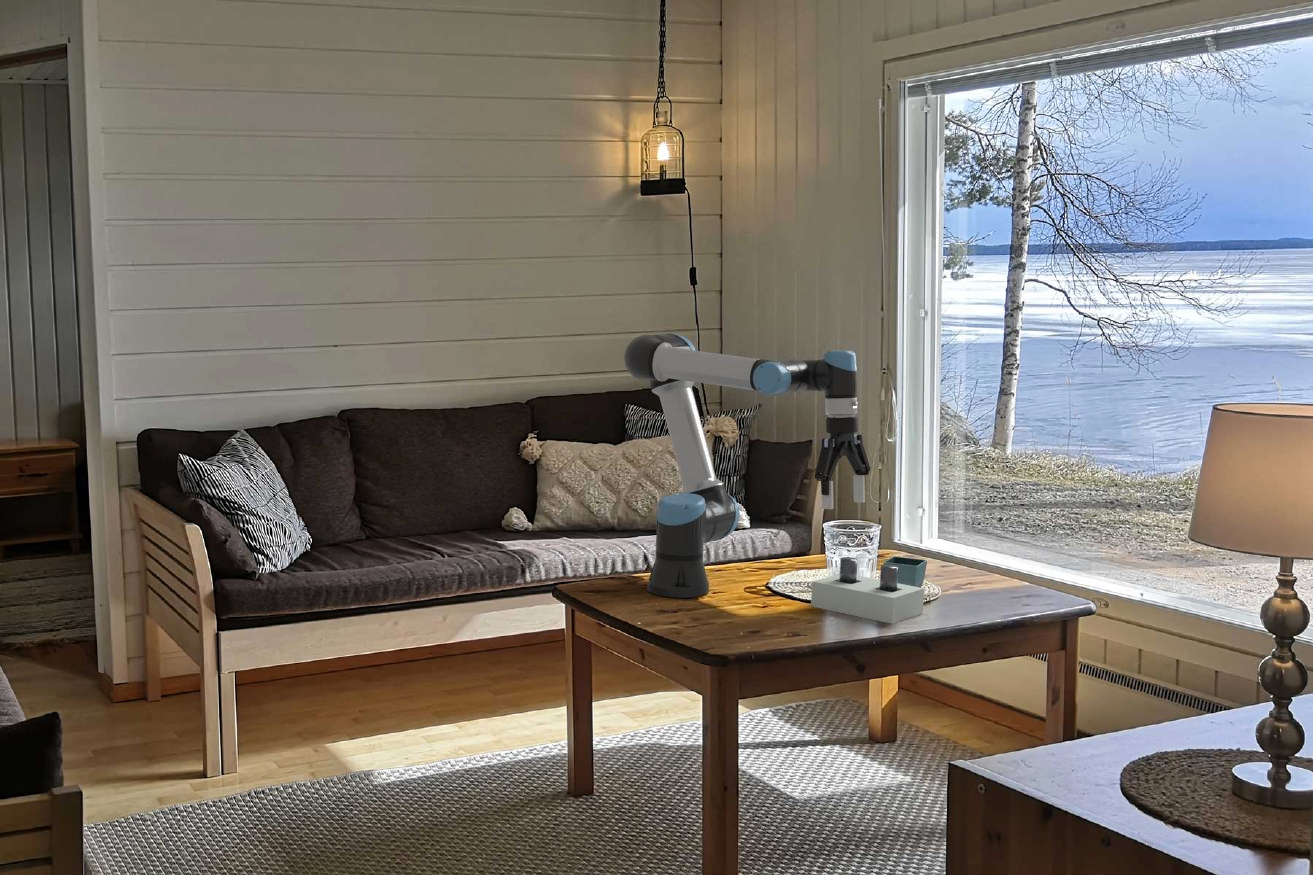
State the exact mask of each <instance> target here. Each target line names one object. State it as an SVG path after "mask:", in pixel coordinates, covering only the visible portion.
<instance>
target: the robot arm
mask: <svg viewBox="0 0 1313 875" xmlns="http://www.w3.org/2000/svg"><path fill="white" fill-rule="evenodd" d="M856 356H857V355H856V353H855V352H854V351H853V350H827V351H825V352H824V354H823V358H821V359H788V360H782V361H780V360H779V361H778V360H771V359H761V358H753V357H746V356H738V355H731V354H725V353H724V354H723V353H717V352H716V353H715V352H710V351H709V352H708V351H701V350H696V348H695V346H694V344H693V343H692V341H690V340H689V339H688V338H687V337H685V336H683V335H680V334H675V333H664V334H663V333H662V334H661V333H660V334H659V333H658V334H642V335H639V336H637V337H635V338H633V339H632V340H631V341H629V343H628V345H627V346H626V348H625V351H624V354H623V361H624V366H625V368H626V370H627V372H628V373H629V374H630V375H631V376H632V377H633V378H635V379H637V380H639V381H644V382H649V385H650V389H651V392H652V393H653V394H655V395H657V396H658V397H659V400H660V401H659V402H660V403H661V407H662V412H663V415H664V418H665V419H664V420H665V422H666V427H667V430H668V433H669V437H670V440H671V445H672V449H673V452H674V456H675V460H676V463H677V467H678V470H679V475H680V478H681V482H682V483H681V484H682V490H681V491H680V492H679V493H678V494H676V493H674V494H670V495H666V496H664V497H662V498H661V499H660V500H659V501H658V503H657V508H656V509H657V510H656V514H655V517H656V536H655V540H656V541H655V559H654V563H653V564H652V565H653V566H652V568H651V571H650V574H649V577H648V580H647V589H646V590H647V591H648V593H650V594H653V595H656V596H660V597H666V598H681V599H685V598H687V599H690V598H698V597H703V596H706V595H708V594H709V592H710V581H709V580H708V577H707V576H708V575H707V571H706V568H705V564H704V544H707V543H711V542H717V541H720V540H723V539H724V538H726V537H729V535H731V534H732V533H733V532H734V531H735V529H736V528H737V526H738V524H739V522H740V509H739V508H740V507H739V505H738V502H737V501H736V499H735V498H734V497H732V496H731V495H730V494H729V493H727V491H726V487H725V483H724V482H723V481H722V480H719V479H718V478H717V477H716V476H717V475H716V473H715V470H714V466H713V460H712V459H711V455H710V450H709V447H708V444H707V439H706V436H705V432H704V429H703V424H702V422H701V418H700V413H699V409H698V406H697V402H696V398H695V394H694V391H693V386H694V385H695V383H700V384H707V385H713V386H714V385H715V386H720V387H721V386H722V387H727V388H728V387H729V388H733V389H742V390H750V391H755V392H756V391H757V392H760V393H761V394H764V395H769V396H770V395H771V396H778V395H780V394H782V395H783V394H791V393H800V392H824V397H825V398H824V401H825V402H824V407H825V408H824V410H825V411H824V413H825V415H826V418H825V432H826V433H827V434H830V437H829V438H828V437H827V438H826V437H825V438H823V437H822V439H821V450H820V453H819V457H818V462H817V465H816V469H815V473H814V479H815V480H816V481H817V482H820V490H821V491H820V493H821V509H823V510H834V481H833V480H831V479H832V477H833V475H834V472H835V470H836V467H837V466H838V463H839V460H840V459H841V458H842V457H844V456H845V457H846V459H847V460H848V462H849V464H850V466H851V469H852V470H853V471H854V474H853V475H852V477H853V478H852V479H853V480H852V483H853V484H852V485H853V486H852V487H853V502H854V503H862V504H863V503H866V490H865V489H866V488H865V487H866V481H865V480H866V479H865V476H868V475H870V472H871V466H870V462H869V459H868V456H867V453H866V449H865V446H864V443H863V435H862V434H859V433H858V434H857V432H858V431H859V418H858V417H857V416H856V415H857V414H858V388H857V387H858V380H857V379H858V376H857V375H858V366H857V357H856ZM855 433H856V434H855Z"/></svg>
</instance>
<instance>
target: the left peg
mask: <svg viewBox="0 0 1313 875" xmlns="http://www.w3.org/2000/svg"><path fill="white" fill-rule="evenodd" d="M839 562H840V563H839V574H840V579H839V582H842V583H847V584H854V583H856V579H857V575H858V558H855V557H848V556H847V557H845V556H844V557H840V560H839Z"/></svg>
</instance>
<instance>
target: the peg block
mask: <svg viewBox="0 0 1313 875" xmlns="http://www.w3.org/2000/svg"><path fill="white" fill-rule="evenodd" d="M839 579H840V573H838V574H834V575H829V576H827V577H824V578H820V579H819V578H818V579H816V580H813V581H812V582H811V599H810V600H811V601H810V607H814V608H817V609H818V608H819V609H822V610H826V611H827V610H828V611H831V612H835V613H836V612H837V613H842V614H845V615H850V616H853V617H859V618H864V619H869V620H874V621H878V622H881V623H886V624H892V625H893V624H895V623H896V624H897V623H900V622H902V621H905V620H907V619H911V618H913V617H916V616H918V615H922V614H923V613H924V601H925V600H924V598H925V588H924V587H921V588H919V587H914V586H909V585H904V584H899V583H897V591H896V592H887V591H882V590H880V579H877V578H873V577H868V576H863V575H858V574H857V579H856V583H854V584H847V583H842V582H839Z"/></svg>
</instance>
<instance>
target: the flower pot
mask: <svg viewBox="0 0 1313 875" xmlns="http://www.w3.org/2000/svg"><path fill="white" fill-rule="evenodd" d="M927 564H928V559H922V558H911V557H904V556H903V557H902V556H892V557H889V558H888V559H886V560H885V561H883V564H882V565H894V566H898V581H897V583H899V584H904V585H909V586H914V587H919V588H922V586H923V584H924V580H925V578H926V570H927Z"/></svg>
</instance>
